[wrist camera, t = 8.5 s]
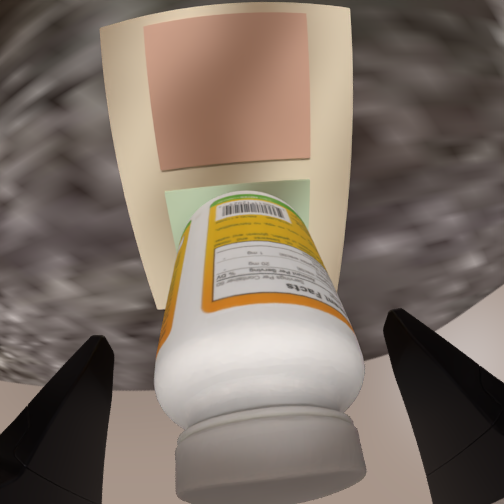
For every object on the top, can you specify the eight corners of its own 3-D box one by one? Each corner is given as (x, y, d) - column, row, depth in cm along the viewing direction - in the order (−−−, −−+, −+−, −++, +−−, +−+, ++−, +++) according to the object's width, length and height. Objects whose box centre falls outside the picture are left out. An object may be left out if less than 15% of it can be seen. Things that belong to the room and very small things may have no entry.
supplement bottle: (234, 313, 15) (247, 516, 7) (154, 239, 12) (90, 482, 4) (329, 254, 13) (419, 466, 5) (259, 159, 11) (347, 432, 3)
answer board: (344, 10, 8) (350, 7, 8) (334, 287, 15) (337, 295, 15) (104, 29, 8) (98, 27, 7) (159, 302, 15) (157, 311, 14)
